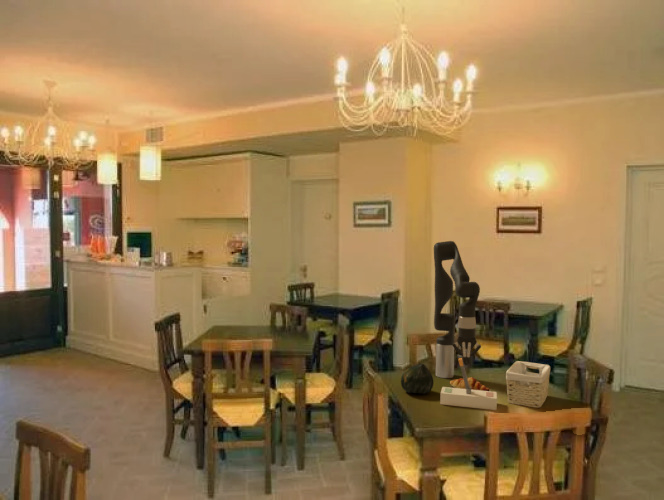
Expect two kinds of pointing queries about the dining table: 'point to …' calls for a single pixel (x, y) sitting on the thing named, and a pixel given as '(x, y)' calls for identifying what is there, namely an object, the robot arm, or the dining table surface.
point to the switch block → (468, 398)
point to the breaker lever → (464, 373)
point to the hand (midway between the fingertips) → (466, 364)
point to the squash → (417, 379)
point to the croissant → (472, 383)
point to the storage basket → (527, 384)
